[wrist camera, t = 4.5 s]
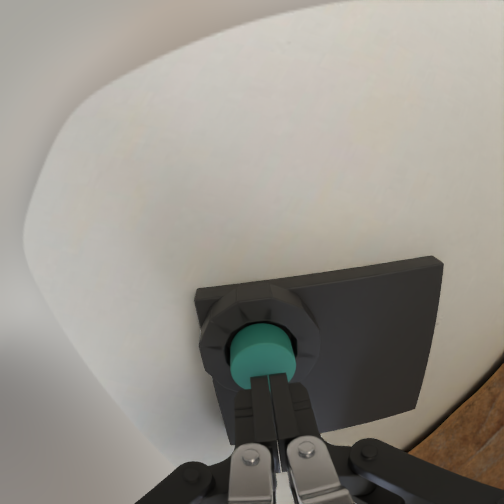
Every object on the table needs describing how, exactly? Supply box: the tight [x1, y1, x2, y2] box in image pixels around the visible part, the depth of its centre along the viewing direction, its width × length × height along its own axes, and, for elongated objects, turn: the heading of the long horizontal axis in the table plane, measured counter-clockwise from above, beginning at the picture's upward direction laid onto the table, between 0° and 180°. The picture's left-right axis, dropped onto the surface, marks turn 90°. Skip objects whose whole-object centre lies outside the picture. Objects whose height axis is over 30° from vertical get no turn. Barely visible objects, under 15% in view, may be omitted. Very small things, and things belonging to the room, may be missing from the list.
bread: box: [408, 363, 504, 490], centre depth 17 cm, size 12×28×14 cm, turn 141°
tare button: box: [230, 323, 296, 392], centre depth 15 cm, size 3×3×2 cm
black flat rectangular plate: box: [194, 256, 444, 445], centre depth 18 cm, size 14×12×3 cm
